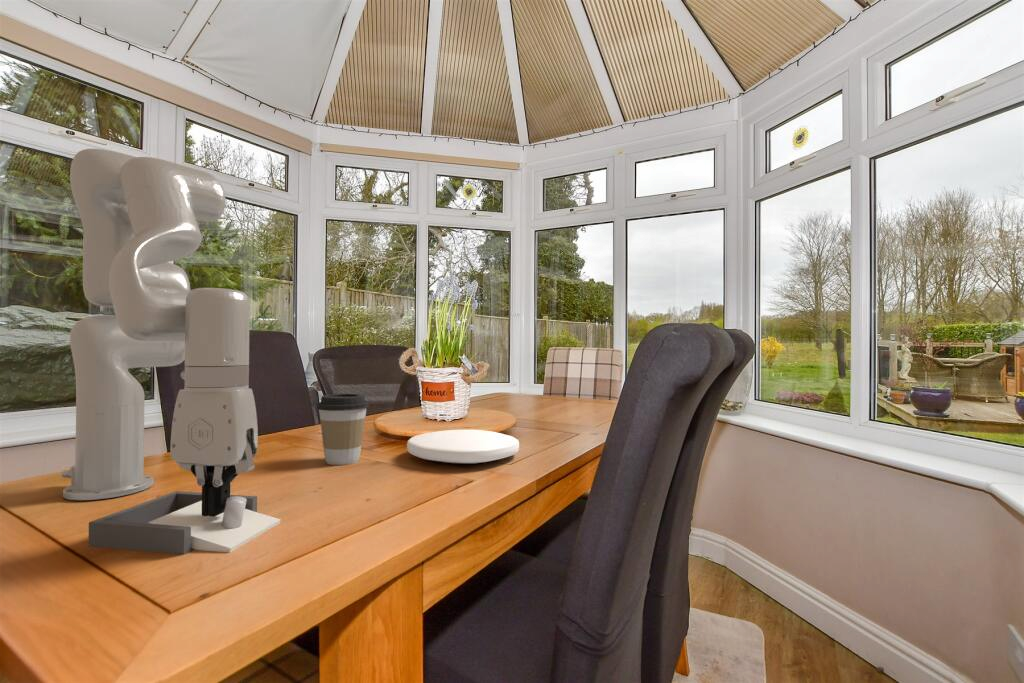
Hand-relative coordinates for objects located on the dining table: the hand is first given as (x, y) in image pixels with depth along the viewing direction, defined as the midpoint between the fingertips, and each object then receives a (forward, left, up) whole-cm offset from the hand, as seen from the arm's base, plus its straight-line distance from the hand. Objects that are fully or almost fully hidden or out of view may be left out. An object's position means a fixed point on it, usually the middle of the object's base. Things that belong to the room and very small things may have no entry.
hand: (215, 512), depth 66 cm
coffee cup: (-5, +44, -4) cm, 44 cm away
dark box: (-5, 0, -4) cm, 6 cm away
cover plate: (0, 0, -3) cm, 3 cm away
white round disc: (+21, +54, -4) cm, 58 cm away
